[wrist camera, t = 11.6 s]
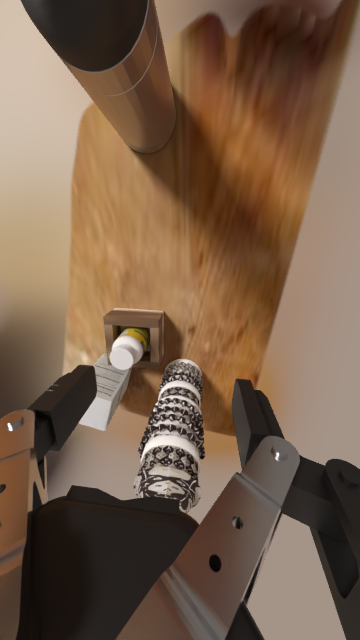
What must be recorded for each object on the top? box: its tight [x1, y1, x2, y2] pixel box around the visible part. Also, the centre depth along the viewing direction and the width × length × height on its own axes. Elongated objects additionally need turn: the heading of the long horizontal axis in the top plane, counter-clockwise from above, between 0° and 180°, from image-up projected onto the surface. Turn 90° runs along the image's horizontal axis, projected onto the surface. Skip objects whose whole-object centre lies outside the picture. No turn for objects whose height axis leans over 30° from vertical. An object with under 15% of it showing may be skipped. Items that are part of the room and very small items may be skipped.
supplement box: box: [79, 354, 132, 431], centre depth 43 cm, size 7×7×13 cm
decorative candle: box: [133, 359, 205, 514], centre depth 36 cm, size 9×9×25 cm
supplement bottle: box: [110, 326, 150, 370], centre depth 39 cm, size 5×5×10 cm
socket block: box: [103, 308, 164, 369], centre depth 42 cm, size 10×10×6 cm
